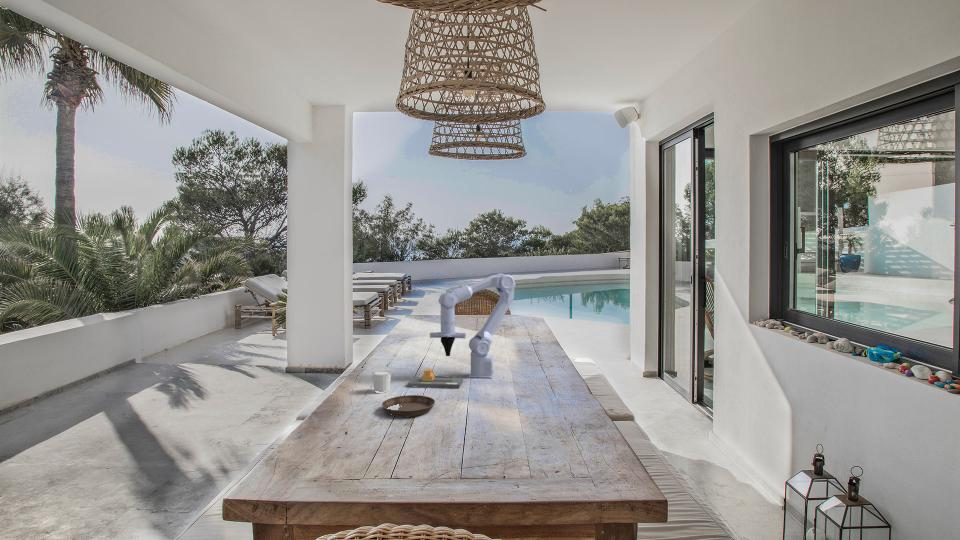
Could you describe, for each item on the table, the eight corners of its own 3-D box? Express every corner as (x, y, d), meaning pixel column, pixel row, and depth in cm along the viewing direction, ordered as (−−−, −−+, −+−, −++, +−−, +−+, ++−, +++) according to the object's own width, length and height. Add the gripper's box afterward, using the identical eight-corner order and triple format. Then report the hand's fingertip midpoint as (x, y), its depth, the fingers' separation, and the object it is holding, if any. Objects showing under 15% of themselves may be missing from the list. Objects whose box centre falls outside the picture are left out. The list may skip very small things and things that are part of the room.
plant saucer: (385, 421, 186) (385, 412, 186) (379, 405, 203) (379, 397, 202) (440, 416, 191) (440, 407, 190) (429, 401, 208) (429, 393, 207)
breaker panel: (463, 382, 234) (463, 378, 233) (458, 388, 224) (458, 384, 224) (414, 380, 236) (414, 376, 236) (407, 387, 226) (407, 382, 226)
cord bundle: (452, 378, 239) (452, 376, 239) (451, 380, 236) (451, 377, 236) (423, 378, 240) (423, 375, 240) (422, 379, 238) (422, 377, 238)
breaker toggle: (434, 378, 232) (434, 368, 232) (431, 381, 227) (431, 371, 227) (424, 378, 233) (424, 368, 233) (421, 381, 228) (421, 371, 228)
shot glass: (393, 389, 224) (393, 371, 223) (388, 394, 217) (388, 375, 216) (375, 388, 224) (375, 370, 224) (370, 393, 217) (370, 374, 217)
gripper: (428, 323, 235) (428, 357, 236) (463, 324, 233) (464, 358, 234) (431, 321, 242) (432, 353, 243) (466, 321, 240) (466, 354, 241)
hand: (448, 355), depth 239 cm, fingers closed
